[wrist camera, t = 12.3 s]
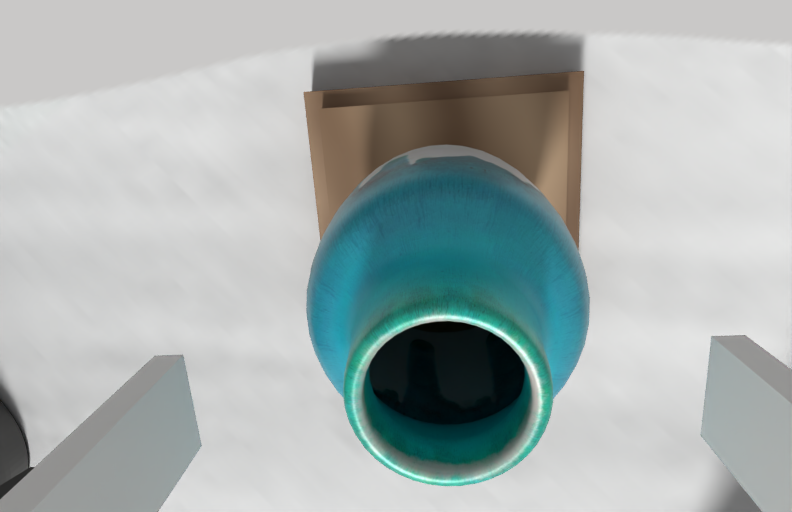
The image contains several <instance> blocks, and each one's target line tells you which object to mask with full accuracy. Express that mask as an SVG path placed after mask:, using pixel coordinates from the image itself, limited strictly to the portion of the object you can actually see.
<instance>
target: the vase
mask: <svg viewBox="0 0 792 512" xmlns="http://www.w3.org/2000/svg"><path fill="white" fill-rule="evenodd" d="M589 303H590V297H589V291H588V284H587V277H586V273H585V269H584V266H583V263H582V260H581V257H580V254H579V251H578V249H577V246H576V244H575V241H574V240H573V238H572V236H571V234H570V232H569V230H568V229H567V227H566V225H565V223H564V221H563V220H562V218H561V216H560V215H559V214H558V212H557V211H556V210H555V208H554V207H553V206H552V205H551V203H550V202H549V201H548V200H547V198H546V197H545V196H544V194H543V193H542V192H541V191H540V190H539V189H538V188H537V187H536V186H535V185H534V184H533V183H532V182H530V181H529V180H528V179H527V178H526V177H525V176H524V175H523V174H522V173H520V172H519V171H518V170H517V169H515V168H514V167H512V166H511V165H509V164H508V163H506V162H504V161H503V160H501V159H500V158H498V157H495V156H493V155H491V154H488V153H486V152H484V151H481V150H477V149H473V148H469V147H465V146H458V145H433V146H426V147H422V148H418V149H414V150H411V151H408V152H406V153H403V154H401V155H398V156H396V157H394V158H392V159H391V160H389V161H387V162H386V163H384V164H383V165H381V166H379V167H378V168H377V169H375V170H374V171H373V172H372V173H371V174H370V175H368V176H367V177H366V178H365V179H364V180H363V181H362V182H361V183H360V184H359V185H358V186H357V187H356V188H355V189H354V190H353V192H352V193H351V194H350V195H349V196H348V198H347V199H346V200H345V201H344V202H343V204H342V205H341V206H340V207H339V209H338V210H337V212H336V213H335V215H334V217H333V219H332V220H331V222H330V224H329V225H328V227H327V229H326V231H325V232H324V234H323V236H322V239H321V241H320V244H319V247H318V249H317V252H316V255H315V257H314V260H313V263H312V268H311V273H310V278H309V283H308V288H307V308H306V311H307V320H308V327H309V334H310V337H311V341H312V344H313V347H314V351H315V354H316V356H317V358H318V360H319V362H320V364H321V366H322V368H323V370H324V372H325V374H326V375H327V377H328V378H329V380H330V381H331V382H332V384H333V385H334V387H335V388H336V390H337V391H338V392H339V393H340V394H341V395H342V396H343V398H344V404H345V409H346V413H347V416H348V419H349V422H350V424H351V426H352V428H353V430H354V432H355V434H356V436H357V437H358V439H359V440H360V441H361V443H362V444H363V446H364V447H365V448H366V449H367V450H368V451H369V452H370V454H371V455H372V456H373V457H374V458H375V459H377V460H378V461H379V462H381V463H382V464H383V465H384V466H386V467H387V468H389V469H391V470H392V471H394V472H396V473H398V474H399V475H402V476H404V477H407V478H409V479H412V480H414V481H418V482H422V483H426V484H431V485H440V486H462V485H469V484H475V483H479V482H482V481H486V480H489V479H492V478H494V477H496V476H498V475H501V474H503V473H505V472H506V471H508V470H509V469H511V468H513V467H514V466H516V465H517V464H518V463H519V462H520V461H522V460H523V459H524V458H525V457H526V456H527V455H528V454H529V453H530V452H531V451H532V449H533V448H534V447H535V446H536V445H537V443H538V441H539V439H540V438H541V436H542V434H543V433H544V431H545V429H546V426H547V424H548V421H549V418H550V415H551V410H552V405H553V398H554V397H555V396H556V395H557V394H558V392H559V391H560V390H561V389H562V388H563V386H564V385H565V383H566V382H567V380H568V378H569V377H570V375H571V373H572V372H573V370H574V368H575V366H576V365H577V363H578V360H579V357H580V355H581V352H582V350H583V347H584V345H585V340H586V335H587V330H588V325H589Z"/></svg>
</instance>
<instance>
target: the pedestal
mask: <svg viewBox="0 0 792 512" xmlns="http://www.w3.org/2000/svg"><path fill="white" fill-rule="evenodd" d="M583 83H584V71H577V72H563V73H550V74H537V75H523V76H510V77H497V78H484V79H470V80H457V81H444V82H431V83H417V84H404V85H391V86H378V87H364V88H351V89H338V90H324V91H311V92H304V100H305V109H306V117H307V126H308V135H309V144H310V152H311V161H312V170H313V179H314V188H315V196H316V205H317V214H318V223H319V232H320V240H321V239H322V236H323V234H324V232H325V231H326V229H327V227H328V225H329V224H330V222H331V220H332V219H333V217H334V215H335V213H336V212H337V210H338V209H339V207H340V206H341V205H342V204H343V202H344V201H345V200H346V199H347V198H348V196H349V195H350V194H351V193H352V192H353V190H354V189H355V188H356V187H357V186H358V185H359V184H360V183H361V182H362V181H363V180H364V179H365V178H366V177H367V176H368V175H370V174H371V173H372V172H373V171H374V170H375V169H377V168H378V167H379V166H381V165H383V164H384V163H386V162H387V161H389V160H391V159H392V158H394V157H396V156H398V155H401V154H403V153H406V152H408V151H411V150H414V149H418V148H422V147H426V146H433V145H458V146H465V147H469V148H473V149H477V150H481V151H484V152H486V153H488V154H491V155H493V156H495V157H498V158H500V159H501V160H503V161H504V162H506V163H508V164H509V165H511V166H512V167H514V168H515V169H517V170H518V171H519V172H520V173H522V174H523V175H524V176H525V177H526V178H527V179H528V180H529V181H530V182H532V183H533V184H534V185H535V186H536V187H537V188H538V189H539V190H540V191H541V192H542V193H543V194H544V196H545V197H546V198H547V200H548V201H549V202H550V203H551V205H552V206H553V207H554V208H555V210H556V211H557V212H558V214H559V215H560V216H561V218H562V220H563V221H564V223H565V225H566V227H567V229H568V230H569V232H570V234H571V236H572V238H573V240H574V241H575V244H576V246H577V249H578V248H579V215H580V182H581V149H582V116H583Z"/></svg>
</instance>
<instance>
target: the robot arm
mask: <svg viewBox="0 0 792 512" xmlns="http://www.w3.org/2000/svg"><path fill="white" fill-rule="evenodd" d="M701 437H702V438H703V439H704V440H705V442H706V443H707V444H708V445H709V446H710V448H711V449H712V450H713V451H714V453H715V454H716V455H717V456H718V458H719V459H720V460H721V461H722V463H723V464H724V465H725V466H726V468H727V469H728V470H729V471H730V473H731V474H732V475H733V476H734V477H735V479H736V480H737V481H738V482H739V484H740V485H741V486H742V487H743V489H744V490H745V491H746V492H747V494H748V495H749V496H750V497H751V499H752V500H753V501H754V502H755V504H756V505H757V506H758V507H759V508H760V510H761V511H762V512H792V370H791V369H790V368H788V367H787V366H786V365H784V364H783V363H782V362H780V361H779V360H778V359H776V358H775V357H774V356H772V355H771V354H770V353H768V352H767V351H766V350H764V349H763V348H762V347H760V346H759V345H758V344H756V343H755V342H754V341H752V340H751V339H750V338H748V337H747V336H746V335H735V336H711V346H710V355H709V364H708V373H707V382H706V391H705V400H704V410H703V419H702V428H701ZM201 446H202V445H201V440H200V435H199V430H198V426H197V421H196V416H195V411H194V406H193V401H192V396H191V391H190V386H189V381H188V376H187V371H186V366H185V361H184V356H183V355H162V356H154V357H153V358H152V359H151V360H150V361H149V362H148V363H146V364H145V365H144V366H143V367H142V368H141V369H140V370H139V371H138V372H137V373H136V374H135V375H134V376H133V377H131V378H130V379H129V380H128V381H127V382H126V383H125V384H124V385H123V386H122V387H121V388H120V389H119V390H117V391H116V392H115V393H114V394H113V395H112V396H111V397H110V398H109V399H108V400H107V401H106V402H105V403H103V404H102V405H101V406H100V407H99V408H98V409H97V410H96V411H95V412H94V413H93V414H92V415H91V416H89V417H88V418H87V419H86V420H85V421H84V422H83V423H82V424H81V425H80V426H79V427H78V428H77V429H75V430H74V431H73V432H72V433H71V434H70V435H69V436H68V437H67V438H66V439H65V440H64V441H63V442H61V443H60V444H59V445H58V446H57V447H56V448H55V449H54V450H53V451H52V452H51V453H50V454H49V455H47V456H46V457H45V458H44V459H43V460H42V461H41V462H40V463H39V464H38V465H37V466H36V467H30V468H28V454H27V449H26V445H25V441H24V438H23V436H22V433H21V431H20V429H19V427H18V425H17V423H16V421H15V420H14V418H13V417H12V415H11V414H10V412H9V411H8V410H7V408H6V407H5V406H4V405H3V404H2V402H1V401H0V512H158V511H159V509H160V508H161V506H162V505H163V503H164V502H165V500H166V499H167V497H168V496H169V494H170V493H171V491H172V490H173V488H174V487H175V485H176V484H177V482H178V481H179V479H180V478H181V476H182V475H183V473H184V472H185V470H186V469H187V467H188V466H189V464H190V463H191V461H192V460H193V458H194V457H195V455H196V453H197V452H198V450H199V449H200V447H201Z"/></svg>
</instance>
